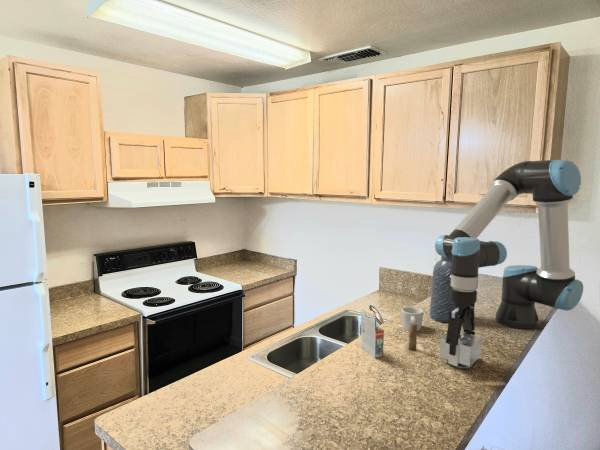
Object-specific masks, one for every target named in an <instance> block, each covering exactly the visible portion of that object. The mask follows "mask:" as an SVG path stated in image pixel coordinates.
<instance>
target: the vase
mask: <svg viewBox="0 0 600 450" xmlns="http://www.w3.org/2000/svg"><path fill="white" fill-rule="evenodd" d="M440 256H441V255H440ZM451 270H452V258H447V257H444V256H441V257H440V259H439V260H438V261H437V262H436V263H435V264H434V267H433V271H432V280H431V281H432V282H431V291H430V293H431V294H430V302H429V303H430V304H429V306H430V307H429V317H430V318H431V319H433V320H435V321H437V322H440V323H446V324H447V323H449V311H450V310H452V311H453V309H454V306H455V303H454V302H453V301H451V300H450V288H451V278H450V275H451ZM459 320H461V319H459Z"/></svg>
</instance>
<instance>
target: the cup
mask: <svg viewBox="0 0 600 450" xmlns="http://www.w3.org/2000/svg"><path fill="white" fill-rule="evenodd" d="M423 316H424V310H423V309H421V308H419V307H416V306H403V307H402V308H401V319H402V320H401V322H402V328H403V330H406V331H409V327H410V324H412V323H413V324H417V332H418V331H420V330H421V329H422V324H423Z"/></svg>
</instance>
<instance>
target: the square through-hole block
mask: <svg viewBox="0 0 600 450" xmlns="http://www.w3.org/2000/svg"><path fill="white" fill-rule="evenodd" d="M446 337H447V333H446V334H445V335H443V336H442V337H440V345H439V346H440V347H439V358H442V359H445V360H447V359H448V357H449V344H448V343H446ZM460 337H463V338H465V339H466V342H462V341H458V345H459V357H458V363H460V364H463V365H466V366H469V367H470V366H471V365H472V364H473V365H474V363H475V362H477V361H478V359H480V358H481V356H482V355H481V354H482V339H483V338H482V337H479V336H476V335H472V334H471V335H469V334H465V332H462V331H461V332H460ZM470 368H471V367H470Z"/></svg>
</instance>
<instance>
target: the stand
mask: <svg viewBox="0 0 600 450" xmlns="http://www.w3.org/2000/svg"><path fill="white" fill-rule="evenodd" d="M408 332H409V333H408V343H397V346H398V347H399V349H400V352H401V353H402V354H403V356H429V354H428V352H427V351H426V349H425V348H424V346H422V344H421V343H417V339H418V337H417V336H418V331H417V324H413V323H412V324H410V327H409V330H408Z"/></svg>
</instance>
